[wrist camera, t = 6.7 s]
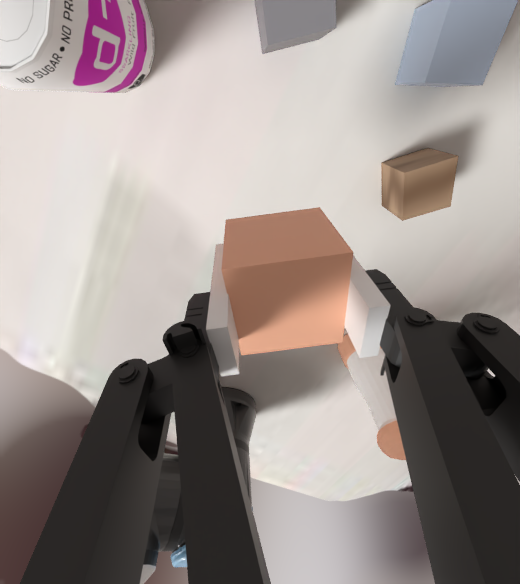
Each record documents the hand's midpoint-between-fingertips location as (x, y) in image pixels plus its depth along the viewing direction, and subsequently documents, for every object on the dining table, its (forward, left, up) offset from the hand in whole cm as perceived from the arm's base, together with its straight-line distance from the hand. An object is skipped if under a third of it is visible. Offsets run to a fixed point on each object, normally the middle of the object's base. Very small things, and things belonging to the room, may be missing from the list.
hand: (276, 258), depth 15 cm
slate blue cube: (+9, -17, -18) cm, 26 cm away
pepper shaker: (-30, -15, -18) cm, 38 cm away
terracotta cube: (0, 0, 0) cm, 0 cm away
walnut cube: (-2, -17, -18) cm, 25 cm away
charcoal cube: (+13, -4, -18) cm, 22 cm away
